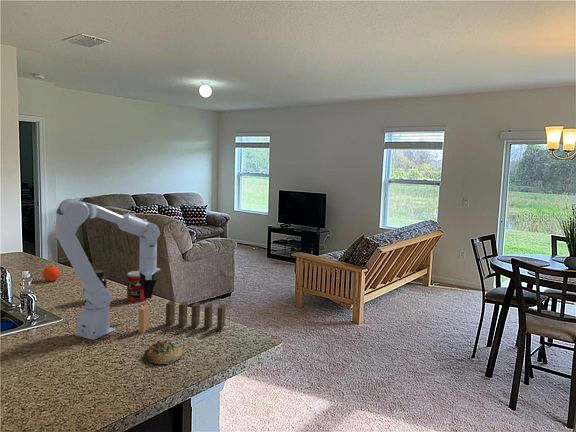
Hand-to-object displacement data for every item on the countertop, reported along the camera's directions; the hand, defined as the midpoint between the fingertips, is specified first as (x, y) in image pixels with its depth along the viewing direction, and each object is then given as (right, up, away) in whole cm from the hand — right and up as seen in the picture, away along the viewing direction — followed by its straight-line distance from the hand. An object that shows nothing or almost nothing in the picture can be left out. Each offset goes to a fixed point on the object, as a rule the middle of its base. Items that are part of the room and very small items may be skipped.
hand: (147, 294), depth 151 cm
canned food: (-12, -7, +25) cm, 28 cm away
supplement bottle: (-27, -6, +20) cm, 34 cm away
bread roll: (+13, -14, -26) cm, 32 cm away
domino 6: (+26, -11, -3) cm, 29 cm away
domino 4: (+17, -11, -2) cm, 20 cm away
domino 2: (+8, -10, -1) cm, 13 cm away
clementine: (-58, -2, +46) cm, 74 cm away
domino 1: (+1, -11, -7) cm, 13 cm away
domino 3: (+13, -10, -1) cm, 16 cm away
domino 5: (+22, -11, -2) cm, 24 cm away
